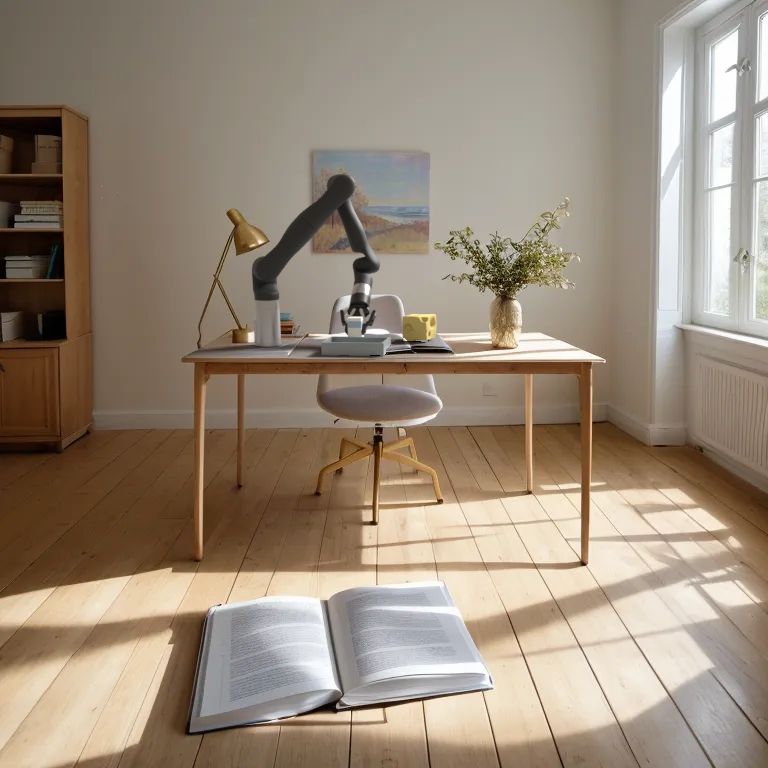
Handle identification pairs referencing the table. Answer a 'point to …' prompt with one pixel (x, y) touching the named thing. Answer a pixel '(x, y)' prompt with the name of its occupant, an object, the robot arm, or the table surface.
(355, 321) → the milk carton
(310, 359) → the table surface
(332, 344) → the tray
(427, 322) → the cheese
